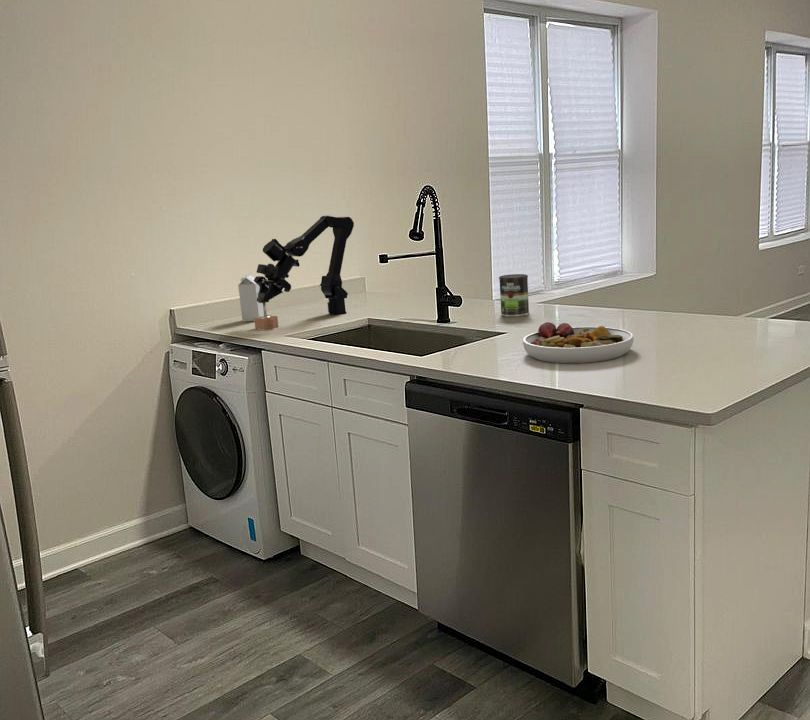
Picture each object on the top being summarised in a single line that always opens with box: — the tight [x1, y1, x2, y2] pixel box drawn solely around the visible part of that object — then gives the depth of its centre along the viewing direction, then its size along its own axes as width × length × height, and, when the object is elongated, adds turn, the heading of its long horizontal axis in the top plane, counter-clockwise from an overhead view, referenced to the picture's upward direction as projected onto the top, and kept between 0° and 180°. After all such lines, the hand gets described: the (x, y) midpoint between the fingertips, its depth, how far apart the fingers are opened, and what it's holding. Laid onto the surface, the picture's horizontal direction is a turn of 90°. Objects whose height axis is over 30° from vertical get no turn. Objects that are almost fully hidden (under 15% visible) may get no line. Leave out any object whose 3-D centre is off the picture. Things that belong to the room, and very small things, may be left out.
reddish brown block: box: [253, 314, 279, 330], centre depth 320 cm, size 6×9×4 cm
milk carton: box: [237, 272, 264, 323], centre depth 341 cm, size 7×7×19 cm
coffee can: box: [498, 273, 530, 318], centre depth 304 cm, size 10×10×14 cm
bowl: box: [522, 321, 634, 364], centre depth 234 cm, size 30×30×8 cm
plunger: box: [258, 292, 271, 318], centre depth 320 cm, size 4×4×10 cm
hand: (260, 301), depth 318 cm, fingers closed on plunger, 4 cm apart
